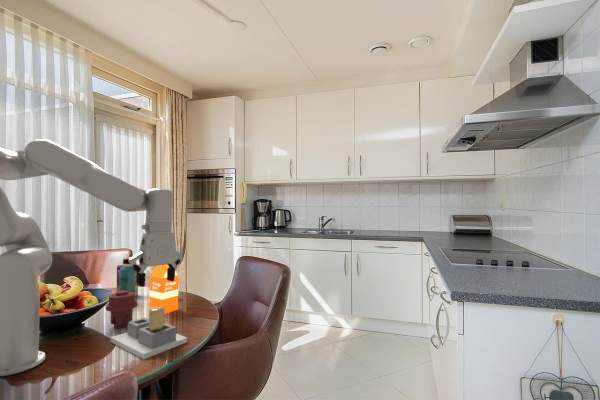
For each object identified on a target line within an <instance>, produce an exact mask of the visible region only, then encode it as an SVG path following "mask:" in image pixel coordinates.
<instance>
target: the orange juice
mask: <svg viewBox="0 0 600 400" xmlns="http://www.w3.org/2000/svg"><path fill="white" fill-rule="evenodd" d="M154 267H155V268H154V269H153V270H152V272H151V274H150V275H149V291H148V292H149V309H151V308H154V307H164V308H165V314H168V313H170V312H175V311H178V310H179V273H178V272H177V270H175V278H174V281H168V280H167V269H168V268H169V266H168V265H159V266H154ZM149 309H148V310H149Z"/></svg>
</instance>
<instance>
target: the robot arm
mask: <svg viewBox="0 0 600 400" xmlns="http://www.w3.org/2000/svg"><path fill="white" fill-rule="evenodd" d="M47 175H50V176H52V177H54V178H57V179H58V180H61V181H63V182H65V183H67V184H68V185H71V186H72V187H75V188H76V189H78V190H80V191H82V192H84V193H87V194H89V195H91V196H93V197H95V198H96V199H98V200H101V201H103V202H104V203H107V204H109V205H110V206H113V207H115V208H116V209H118V210H121V211H124V212H127V213H128V212H133V213H134V212H145V224H142V225H141V230H144V232H143V233H142V236H141V240H140V245H139V252H138V253H136V254H135V255H133V256H131V257H129V258H128V259H129V260H128V261H129V263H130V265H131V268H132V269H134V270H135V272H137V281H136V282H137V285H138V287H142V288H143V287H145V286H146V272H145V271H146V269H147V268H148V267H156V266H159V265H168V266H169V268H168V269H167V280H168V281H174V278H175V271H176V269H177V268H178V265H180V263H181V260H182V259H183V256H184V255H183V253H182V252H179V251H178V250H177V245H176V244H177V243H176V237H175V232H174V231H173V232H172V229H173V228H172V225H173V204H174V203H173V202H174V198H173V197H174V194H173V191H172V190H170V189H167V188H165V189H164V188H151V189H143V188H139V187H137V186H134V185H132V184H130V183H128V182H127V181H125V180H123V179H121V178H118V177H117V176H115V175H113V174H111V173H109V172H107V171H105V170H104V169H103V168H101V167H100V166H99V165H97V164H96V163H95V162H92V161H91V160H88V159H86V158H84V157H82V156H81V155H78V154H77V153H75V152H74V151H72V150H69V149H67V148H65V147H63V146H61V145H59V144H58V143H55V142H54V141H51V140H49V139H43V138H42V139H40V138H39V139H34V140H32V141H30V142H29V143H27V144H26V146H25V148H24V150H14V151H11V150H8V149H5V148H2V147H0V180H3V181H17V180H23V179H29V178H30V179H31V178H35V177H41V176H42V177H43V176H47ZM0 247H1V248H3V247H5V250H6V251H4V252H3V253H1V254H0V377H6V376H11V375H14V374H15V375H16V374H18V373H21V372H25V371H28V370H30V369H33V368H35V367H37V366H38V365H40V364H41V363H43V362H44V361H45V359H46V353H45V352H44V351H42V350H41V351H40V350H39V349H40V348H39V347H40V345H39V344H40V343H39V341H40V340H39V339H40V337H39V336H40V306H41V305H40V304H41V303H40V301H41V300H40V297H41V296H40V295H41V293H40V287H39V281H38V277H39V276H41V275H43V274H45V273H46V272H47V271H48V270H49V269H50V267H51V266H52V263H53V255H52V252H51V249H50V247H49V245H48V242H47V241H46V239H45V236H44V235H43V232H42V231H41V229H40V227H39V225H38V223H37V221H36V220H35V219H34V218H33V217H31V216H30V215H29V214H26V213H24V212H19V211H15V210H14V208H13V206H12V204H11V203H10V201H9V198H8V196H7V194H6V192H5V191H4V190H3V188H2V187H1V186H0ZM137 261H138V263H137ZM137 264H139V266H138V265H137Z"/></svg>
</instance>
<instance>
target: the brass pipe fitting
mask: <svg viewBox="0 0 600 400" xmlns="http://www.w3.org/2000/svg"><path fill="white" fill-rule="evenodd" d="M148 311H149V312H148V319H149V331H150V332H153V333H155V332H158V331H161V330H164V323H166V322H165V319H166V318H165V314H166V313H165V308H164V307H154V308H151V309H148Z"/></svg>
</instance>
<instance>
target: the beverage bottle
mask: <svg viewBox="0 0 600 400" xmlns="http://www.w3.org/2000/svg"><path fill="white" fill-rule="evenodd" d="M129 259H130V258H124V259H122V264H130V263H129V261H128V260H129ZM119 279H120V280H119V281H120V284H119V291H123V290H127V291H128V292H134V293H135V270H134V269H132V268H131V266H123V267H122V268H121V269H120V278H119Z"/></svg>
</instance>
